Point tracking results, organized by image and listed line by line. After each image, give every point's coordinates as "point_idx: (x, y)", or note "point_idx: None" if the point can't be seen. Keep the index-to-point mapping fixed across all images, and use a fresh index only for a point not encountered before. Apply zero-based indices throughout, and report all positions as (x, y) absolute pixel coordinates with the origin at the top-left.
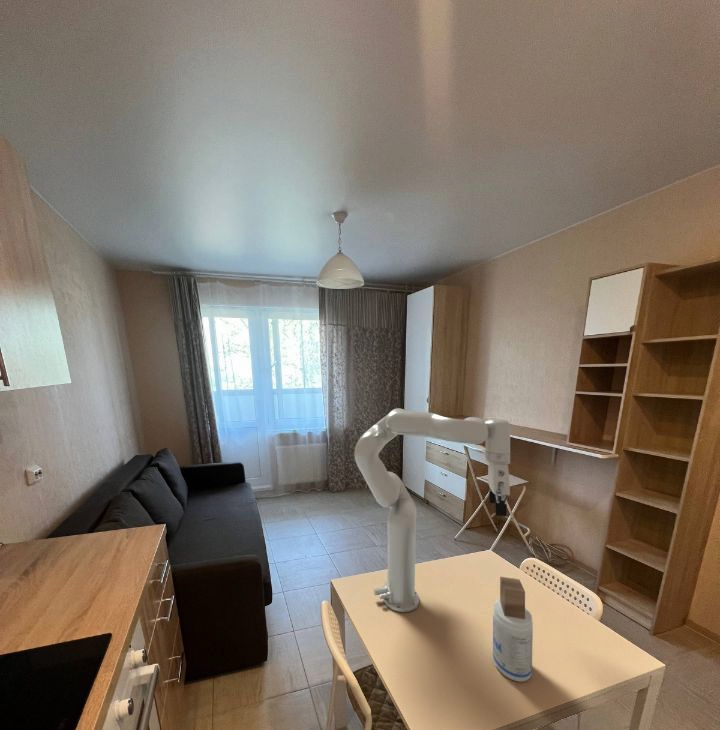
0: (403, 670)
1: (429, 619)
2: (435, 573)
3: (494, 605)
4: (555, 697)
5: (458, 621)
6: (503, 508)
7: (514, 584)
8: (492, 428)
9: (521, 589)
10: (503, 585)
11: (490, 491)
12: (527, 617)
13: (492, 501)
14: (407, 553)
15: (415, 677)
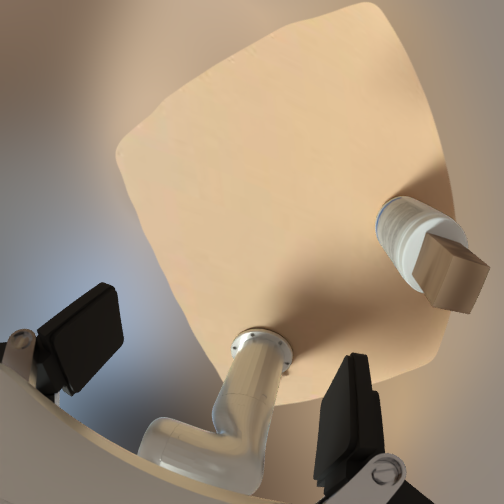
0: (384, 364)
1: (306, 322)
2: (184, 280)
3: (417, 290)
4: (445, 186)
5: (311, 278)
6: (380, 430)
7: (466, 282)
8: None
9: (482, 272)
10: (461, 312)
11: (70, 392)
12: (456, 233)
13: (114, 335)
14: (267, 421)
15: (395, 354)
